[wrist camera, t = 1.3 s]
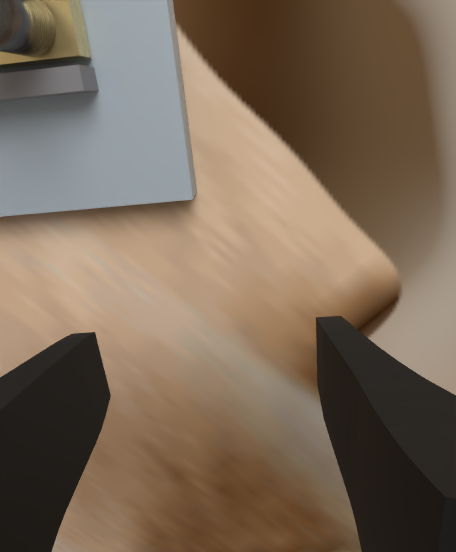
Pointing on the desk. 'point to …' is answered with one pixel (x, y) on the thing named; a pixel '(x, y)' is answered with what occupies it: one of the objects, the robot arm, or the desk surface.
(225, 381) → the desk surface
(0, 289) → the desk surface
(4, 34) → the bolt
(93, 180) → the sliding latch plate
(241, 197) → the desk surface
